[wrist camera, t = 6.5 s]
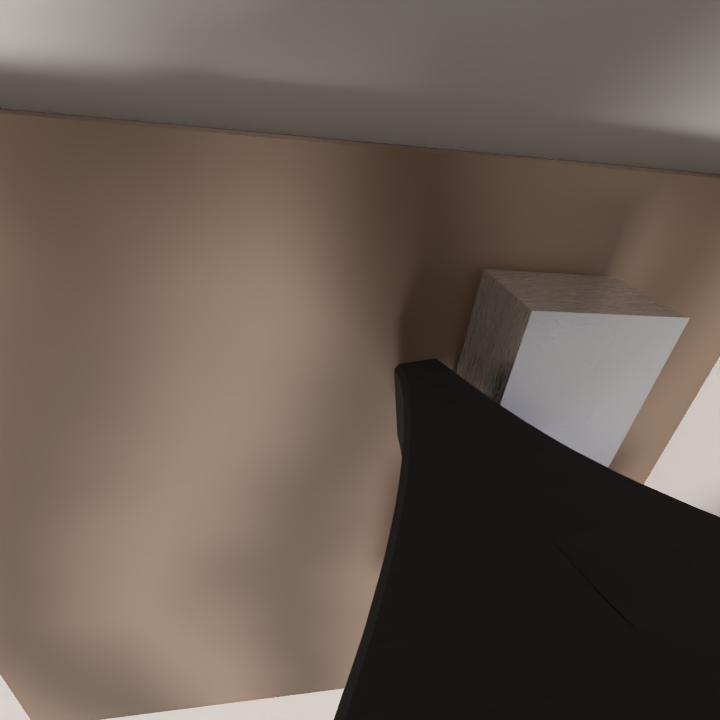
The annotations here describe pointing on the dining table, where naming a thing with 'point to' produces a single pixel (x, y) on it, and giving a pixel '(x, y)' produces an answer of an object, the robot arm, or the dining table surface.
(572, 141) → the dining table surface
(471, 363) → the link
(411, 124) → the dining table surface
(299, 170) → the base plate
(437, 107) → the dining table surface
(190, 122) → the dining table surface
